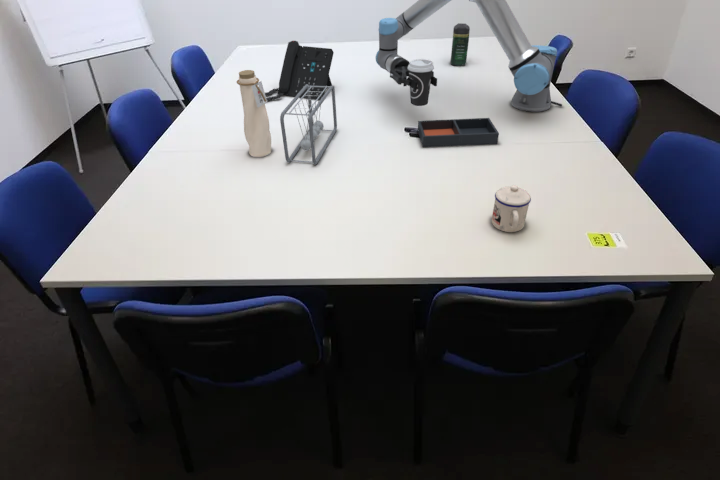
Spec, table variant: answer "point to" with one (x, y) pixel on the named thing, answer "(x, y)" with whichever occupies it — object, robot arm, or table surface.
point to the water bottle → (255, 114)
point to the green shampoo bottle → (460, 44)
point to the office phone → (304, 71)
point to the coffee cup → (420, 80)
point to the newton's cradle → (313, 127)
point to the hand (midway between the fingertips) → (426, 84)
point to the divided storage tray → (457, 132)
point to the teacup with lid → (510, 208)
